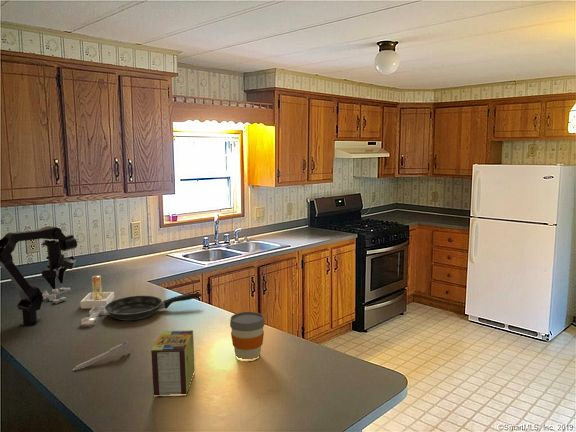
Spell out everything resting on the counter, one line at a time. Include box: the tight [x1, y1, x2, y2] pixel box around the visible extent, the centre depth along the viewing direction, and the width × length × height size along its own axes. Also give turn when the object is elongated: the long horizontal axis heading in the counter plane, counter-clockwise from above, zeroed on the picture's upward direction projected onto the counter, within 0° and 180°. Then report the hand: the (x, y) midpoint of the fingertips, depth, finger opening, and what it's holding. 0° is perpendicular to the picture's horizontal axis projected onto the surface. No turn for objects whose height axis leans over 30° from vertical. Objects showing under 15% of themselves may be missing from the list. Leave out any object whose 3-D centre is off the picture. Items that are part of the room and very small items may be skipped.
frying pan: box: [105, 292, 202, 321], centre depth 218 cm, size 44×25×7 cm, turn 107°
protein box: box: [150, 330, 196, 396], centre depth 149 cm, size 10×15×16 cm
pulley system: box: [40, 287, 71, 305], centre depth 241 cm, size 27×5×15 cm
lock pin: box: [91, 274, 103, 301], centre depth 230 cm, size 4×4×13 cm
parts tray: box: [80, 291, 115, 309], centre depth 231 cm, size 14×12×4 cm
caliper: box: [72, 339, 132, 372], centre depth 167 cm, size 20×1×6 cm, turn 131°
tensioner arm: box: [80, 306, 108, 328], centre depth 210 cm, size 21×7×2 cm, turn 6°
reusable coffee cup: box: [229, 311, 266, 359], centre depth 170 cm, size 13×13×15 cm
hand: (58, 285), depth 216 cm, fingers open, 9 cm apart
